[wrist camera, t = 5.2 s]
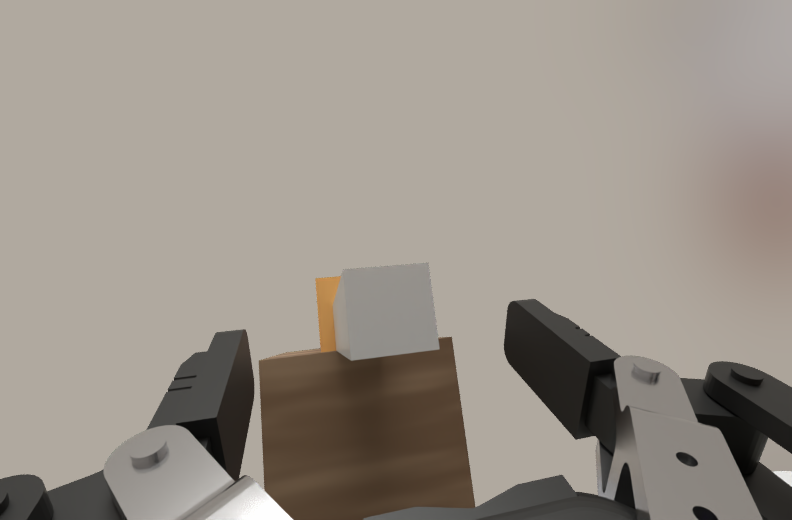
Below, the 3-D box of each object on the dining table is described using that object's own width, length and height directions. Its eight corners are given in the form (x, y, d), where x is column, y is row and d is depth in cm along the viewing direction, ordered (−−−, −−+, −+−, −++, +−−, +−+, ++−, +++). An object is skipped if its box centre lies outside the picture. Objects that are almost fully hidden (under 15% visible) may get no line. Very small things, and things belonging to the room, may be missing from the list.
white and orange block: (467, 345, 10) (447, 207, 11) (319, 364, 10) (308, 214, 10) (371, 342, 31) (366, 293, 31) (321, 348, 30) (317, 298, 31)
